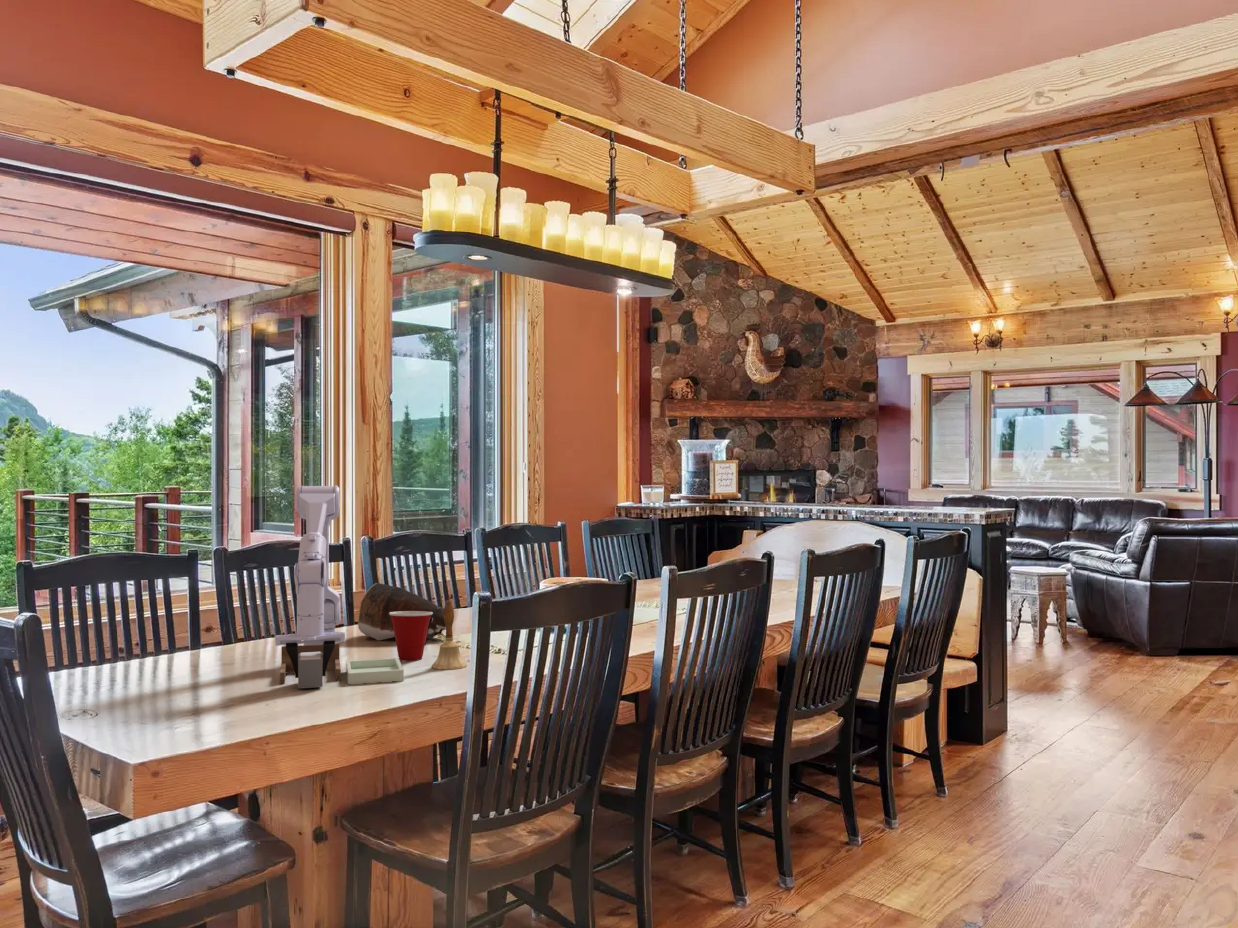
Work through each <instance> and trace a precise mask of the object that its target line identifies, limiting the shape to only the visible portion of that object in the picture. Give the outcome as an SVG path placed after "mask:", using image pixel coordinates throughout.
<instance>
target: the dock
mask: <svg viewBox="0 0 1238 928" xmlns="http://www.w3.org/2000/svg"><path fill="white" fill-rule="evenodd" d="M303 652H322V658H323V644H320V645H304V644H303V645H302V644H300V645H298V657H299V653H303ZM280 662H281V663H280V670H279V685H285V682H286V676H287V673H289V674H290V673H295V672H294V668H293V665H292V662H291V659H290V657H289V655H288V653H287V651H286V645H281V661H280ZM333 670H334V674H335V675H334V676H335V681H336V680H337V681H341V680H342V679H341V677H342V675H341V674H342V673H341V672H342V671H341V670H342V669H341V660H340V643H335V647H334V650H333V652H332V654H331V656H330V659H329V662H328V665H327V669H326V671H333Z"/></svg>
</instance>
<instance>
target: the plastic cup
mask: <svg viewBox="0 0 1238 928" xmlns="http://www.w3.org/2000/svg"><path fill="white" fill-rule="evenodd" d="M432 614H433V612H426V611H398V612H390V613H389V615H390V616H391V619H392V624H393V628H394V634H395V637H394V640H395V645H396V651H397V658H399V660H400V661H405V662H411V661H420V660H422V658H423V657H424V652H425V651H424V650H425V646H426V640H427V638H426V636H427V630H428V624H429V620H430V617H431V615H432Z"/></svg>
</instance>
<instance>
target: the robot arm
mask: <svg viewBox="0 0 1238 928" xmlns="http://www.w3.org/2000/svg"><path fill="white" fill-rule="evenodd" d="M295 492H296V493H295V506H296V510H297V514H298V515H299V518H301V519H302V520H305V525H306V526H305V529H306V533H305V534H304V535H303V536H302V537H301V539H300V541H299V550H298V559H297V562H295V565H294V577H293V579H294V585H295V595H297V596H296V633H289V634H279V635H275V638H274V639H275V640H274V642H275V644H274V645H275V647H277V646H278V647H279V646H286V651H287V653H288V655H289V657H290V659H291V662H292V665H293V668H294V672H293V673H294V679H298V646H299V645H302V644H303V645H320V644H323V677H326V676H327V675H326V674H327V673H326V672H327V670H326V669H327V665H328V662H329V659H330V656H331V654H332V652H333V650H334V647H335V644H336V643H338V642H339V643H345V642H346V632H345V631H342V632H341V631H339V632H338V631H337V632H336V626H339V624H341V620H342V619H341V617H342V614H341V613H342V612H341V611H342V610H341V609H342V607H341V606H342V605H341V596H340V593H339V592H338V591H336V590H335V589H334V588H332V587H331V586H329V585H330V584H329V583H330V582H329V578H330V577H329V575H330V573H329V572H330V571H329V568H330V566H329V563H330V562H329V561H330V560H329V558H330V553H329V551H330V547H329V546H330V526H331V522H332V521H333V520H335V519H338V518H339V515H340V508H341V507H340V506H341V505H340V504H341V489H340V487H339V486H338V485H336V484H335V485H299V486H297V488H296V490H295Z"/></svg>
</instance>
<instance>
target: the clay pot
mask: <svg viewBox="0 0 1238 928" xmlns="http://www.w3.org/2000/svg"><path fill="white" fill-rule="evenodd" d="M398 611H426V612H433V614H432V615H431V617H430V620H429V624H428V630H427V636H426V639H434V637H436V636H437V635H440V634H442V633H443V631H446V625H445V621H444V608H443V607H442V606H438V605H437V604H435V603H433V601H431V600H428V599H426V598H424V597H420V596H419V595H418V594H416V593H414V592H411V591H408V590H406V589H404V588H403V587H400V586H399V587H398V586H395V585H394V586H393V585H390V584H384V583H382V582H376V583H374V584H373V585H371V586H370V587H369V588H368V589H367V591H366V592H365V594H364V595H363V597H362V600H361V602H360V605H359V614H358V619H357V626H358V627H357V628H358V630H359V631H360V633H361V634H363V635H365V636H368V637H369V638H372V639H374V640H377V641H378V640H380V641H383V640H387V639H391V638H395V634H394V628H393V624H392V619H391V616H390V615H389V613H390V612H398Z"/></svg>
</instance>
